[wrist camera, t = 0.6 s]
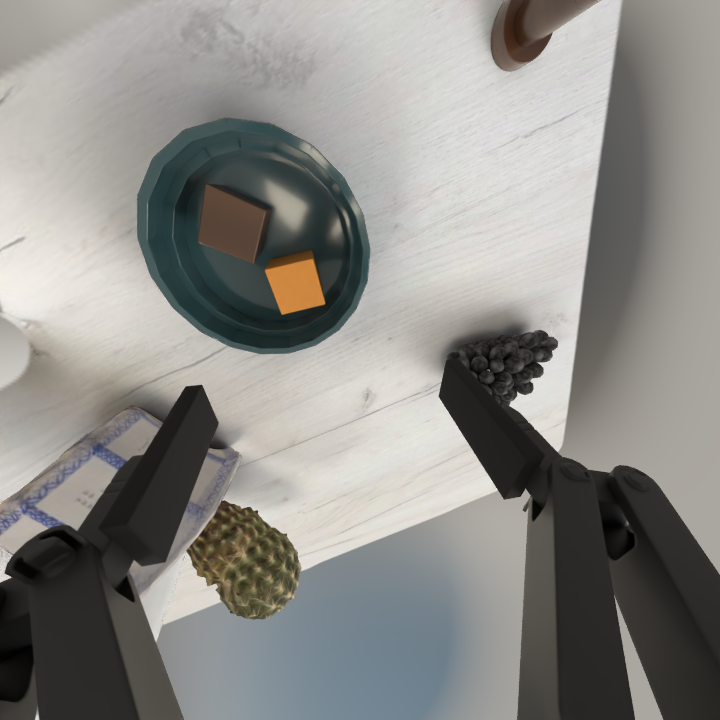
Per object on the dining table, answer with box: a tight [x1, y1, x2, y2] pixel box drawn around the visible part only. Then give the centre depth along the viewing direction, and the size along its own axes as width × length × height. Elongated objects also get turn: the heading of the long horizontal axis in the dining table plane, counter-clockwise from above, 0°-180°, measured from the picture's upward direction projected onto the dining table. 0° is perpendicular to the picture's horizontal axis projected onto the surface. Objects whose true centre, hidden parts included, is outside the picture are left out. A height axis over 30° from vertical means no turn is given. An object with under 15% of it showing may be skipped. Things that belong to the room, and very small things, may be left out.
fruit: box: [447, 330, 558, 407], centre depth 32 cm, size 9×8×15 cm
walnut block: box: [198, 183, 272, 263], centre depth 21 cm, size 4×4×4 cm
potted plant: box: [0, 406, 301, 619], centre depth 30 cm, size 18×18×30 cm
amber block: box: [265, 250, 325, 315], centre depth 24 cm, size 4×4×4 cm
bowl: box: [137, 118, 370, 354], centre depth 22 cm, size 16×16×6 cm
